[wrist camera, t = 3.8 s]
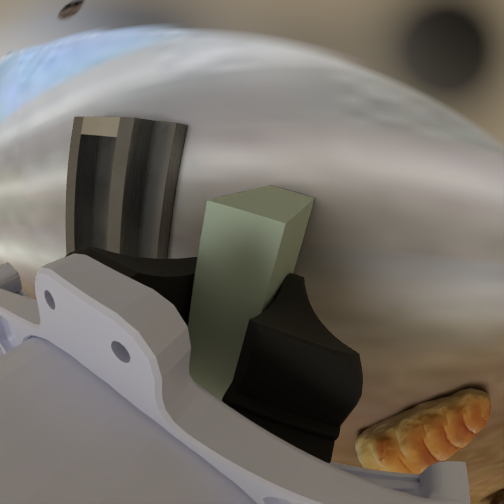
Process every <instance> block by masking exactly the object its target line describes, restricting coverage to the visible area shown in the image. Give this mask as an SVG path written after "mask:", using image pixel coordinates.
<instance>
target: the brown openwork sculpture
mask: <svg viewBox="0 0 504 504" xmlns="http://www.w3.org/2000/svg"><path fill="white" fill-rule="evenodd" d="M491 504H504V497H502V496H499V495H498V496H496V497H495V498H494V499H493V500H492V501H491Z"/></svg>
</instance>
